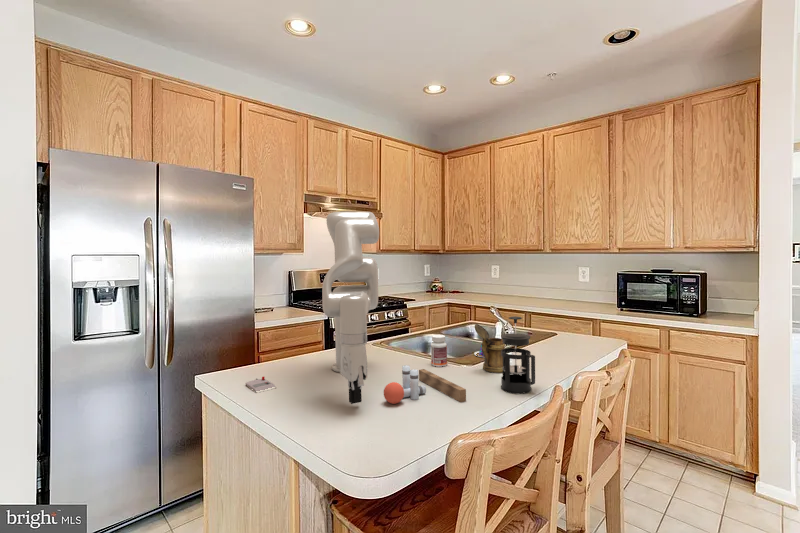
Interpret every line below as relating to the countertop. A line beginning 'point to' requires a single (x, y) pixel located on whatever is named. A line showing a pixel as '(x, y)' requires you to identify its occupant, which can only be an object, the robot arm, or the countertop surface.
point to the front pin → (420, 388)
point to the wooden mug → (491, 351)
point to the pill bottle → (438, 351)
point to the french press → (513, 375)
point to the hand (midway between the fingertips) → (355, 402)
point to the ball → (393, 392)
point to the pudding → (479, 351)
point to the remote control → (260, 384)
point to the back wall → (443, 385)
